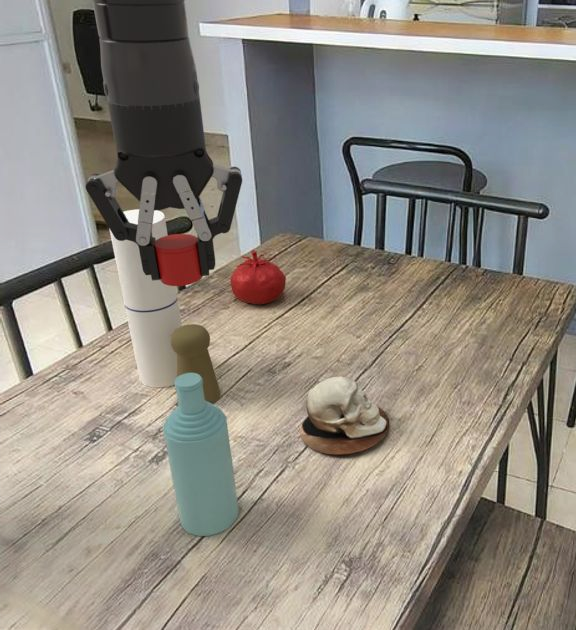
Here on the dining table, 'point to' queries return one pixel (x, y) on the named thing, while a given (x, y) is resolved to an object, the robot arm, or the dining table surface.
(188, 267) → the cap
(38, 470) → the dining table surface
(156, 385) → the cylindrical container
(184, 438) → the bottle
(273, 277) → the pomegranate
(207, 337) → the brown pawn
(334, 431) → the skull
